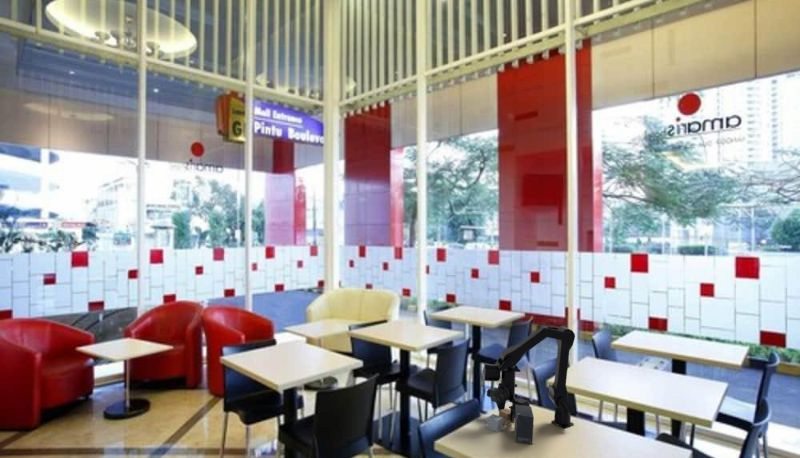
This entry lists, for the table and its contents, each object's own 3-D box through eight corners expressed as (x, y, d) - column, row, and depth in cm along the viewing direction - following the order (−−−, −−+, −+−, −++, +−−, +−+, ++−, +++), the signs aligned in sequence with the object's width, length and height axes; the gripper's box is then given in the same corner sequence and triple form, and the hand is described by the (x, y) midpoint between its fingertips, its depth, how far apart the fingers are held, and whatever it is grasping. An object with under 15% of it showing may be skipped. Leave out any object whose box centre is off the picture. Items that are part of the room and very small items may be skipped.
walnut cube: (506, 418, 186) (506, 408, 186) (514, 422, 183) (515, 411, 183) (498, 421, 184) (499, 410, 184) (507, 425, 180) (507, 414, 180)
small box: (533, 445, 164) (534, 416, 164) (515, 442, 165) (516, 414, 165) (530, 432, 174) (531, 405, 174) (513, 430, 175) (514, 403, 175)
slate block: (492, 425, 180) (492, 414, 180) (502, 428, 177) (503, 417, 177) (486, 428, 176) (487, 417, 176) (497, 432, 173) (497, 420, 173)
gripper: (477, 377, 186) (476, 414, 186) (511, 392, 171) (510, 432, 171) (496, 373, 193) (495, 409, 193) (531, 387, 177) (529, 426, 177)
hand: (506, 419), depth 183 cm, fingers open, 5 cm apart
